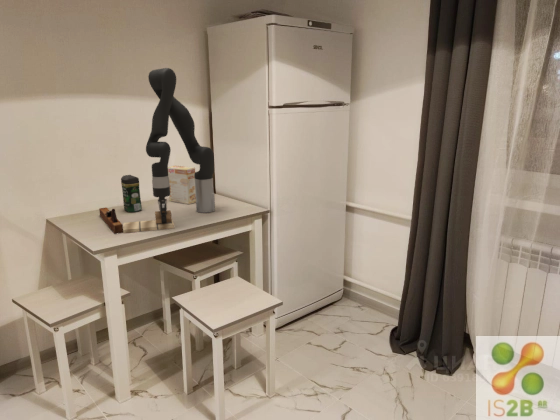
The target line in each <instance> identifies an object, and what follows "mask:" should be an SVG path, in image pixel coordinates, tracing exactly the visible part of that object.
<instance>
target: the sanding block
mask: <svg viewBox="0 0 560 420" xmlns="http://www.w3.org/2000/svg"><path fill="white" fill-rule="evenodd" d="M162 213H165V211H162ZM166 213H167V215H166V220H167V223H164V224H168V223H172V220H173V218H172V211H171V210H168V209H167V210H166ZM154 215H155V217H154V218H155V220H156V225H157V224H162V220H161V211H160V210H158V211H155V212H154Z"/></svg>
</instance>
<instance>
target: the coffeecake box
mask: <svg viewBox="0 0 560 420" xmlns="http://www.w3.org/2000/svg"><path fill="white" fill-rule="evenodd" d="M195 172H196V168H195V167H190V166H184V165H183V166H181V165H171V166H168V177H169V184H170V196H168V197H169V198H168V199H169V202H174V203H179V204H185V205H190V204H194V203H195V204H196V194H195V177H194V174H195Z"/></svg>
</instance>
